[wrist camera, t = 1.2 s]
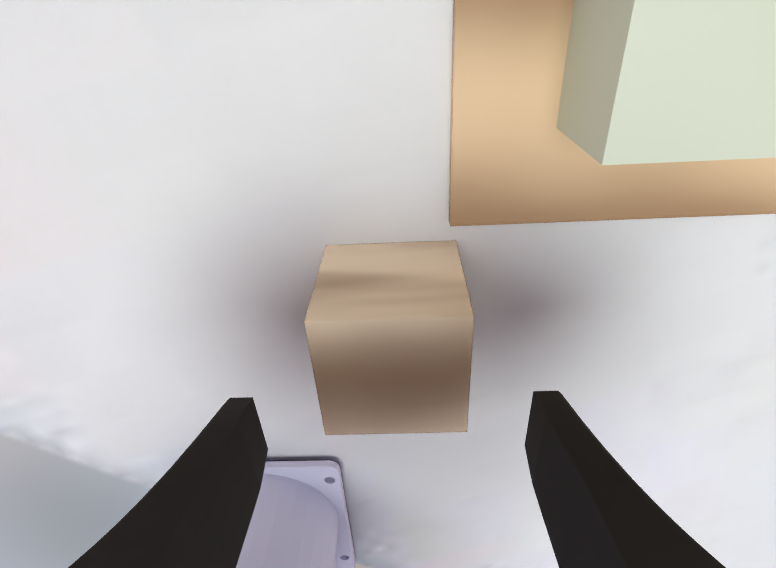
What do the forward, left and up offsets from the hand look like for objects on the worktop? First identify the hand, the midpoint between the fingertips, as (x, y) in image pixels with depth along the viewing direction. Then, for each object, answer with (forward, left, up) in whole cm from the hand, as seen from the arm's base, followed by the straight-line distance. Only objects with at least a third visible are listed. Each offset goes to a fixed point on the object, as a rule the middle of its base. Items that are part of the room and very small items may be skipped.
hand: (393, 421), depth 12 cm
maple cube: (0, 0, -6) cm, 6 cm away
